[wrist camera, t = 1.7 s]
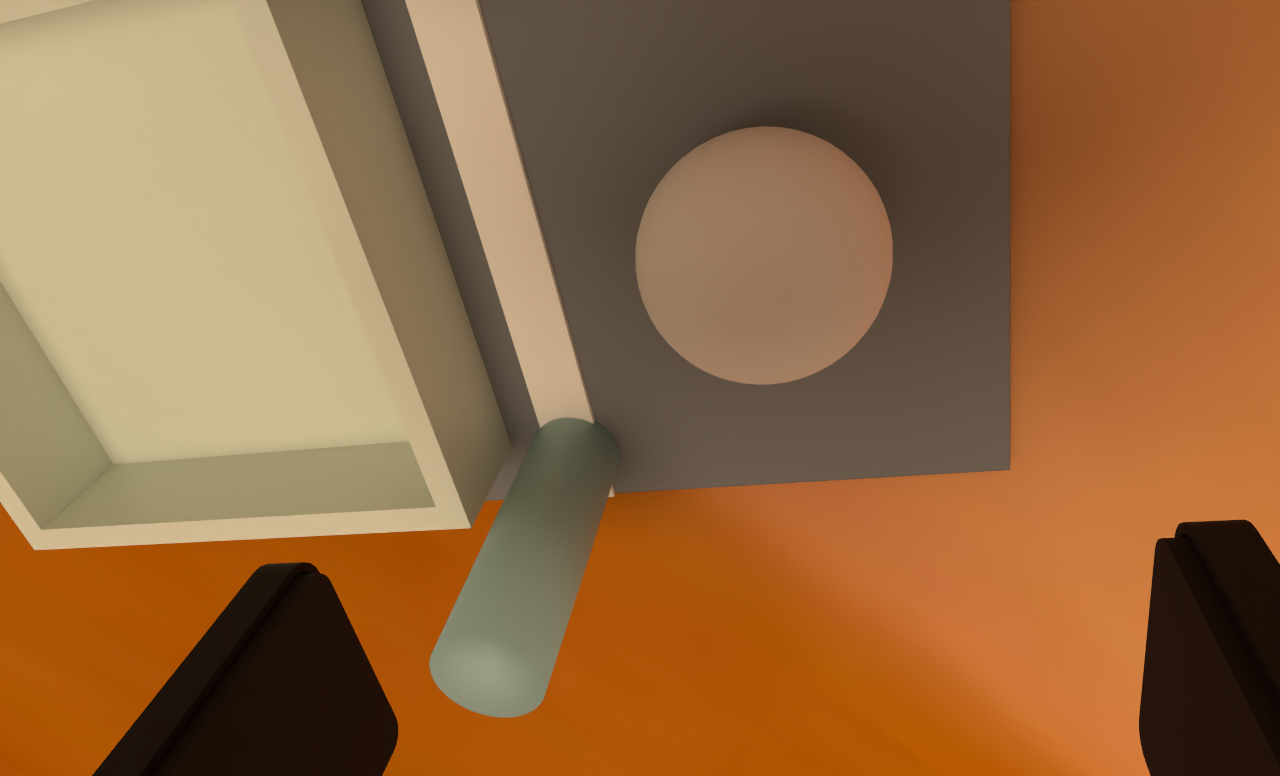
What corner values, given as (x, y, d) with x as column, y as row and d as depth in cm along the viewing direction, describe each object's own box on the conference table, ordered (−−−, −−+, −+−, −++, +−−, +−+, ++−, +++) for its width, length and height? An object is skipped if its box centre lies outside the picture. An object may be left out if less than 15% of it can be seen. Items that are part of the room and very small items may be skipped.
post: (526, 411, 24) (413, 635, 17) (611, 404, 23) (526, 633, 17) (549, 481, 25) (451, 717, 19) (630, 477, 25) (558, 717, 18)
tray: (-164, 28, 21) (-316, 60, 18) (327, -97, 18) (233, -83, 15) (114, 476, 28) (34, 549, 25) (511, 446, 24) (471, 527, 22)
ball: (635, 118, 19) (583, 199, 15) (876, 77, 18) (892, 154, 14) (678, 323, 21) (643, 443, 17) (892, 301, 20) (910, 423, 16)
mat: (-227, -48, 21) (-247, -46, 20) (1007, -410, 14) (1012, -416, 14) (128, 516, 29) (119, 525, 29) (1007, 462, 22) (1010, 473, 22)
